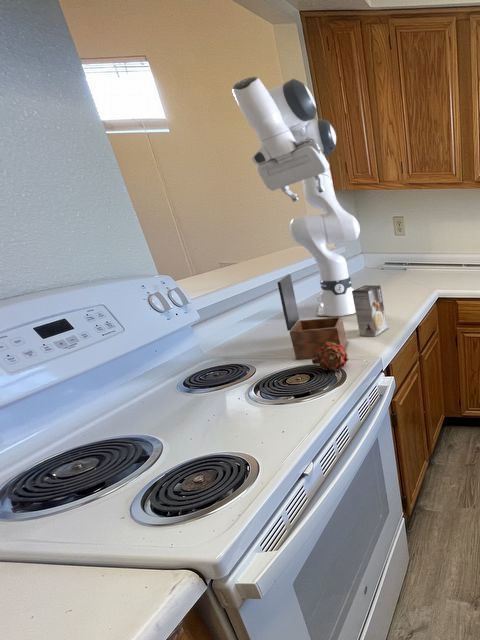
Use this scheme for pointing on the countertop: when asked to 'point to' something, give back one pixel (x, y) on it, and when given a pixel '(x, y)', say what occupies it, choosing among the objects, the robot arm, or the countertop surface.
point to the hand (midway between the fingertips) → (309, 196)
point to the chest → (316, 335)
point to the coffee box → (369, 310)
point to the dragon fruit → (331, 357)
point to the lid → (288, 301)
